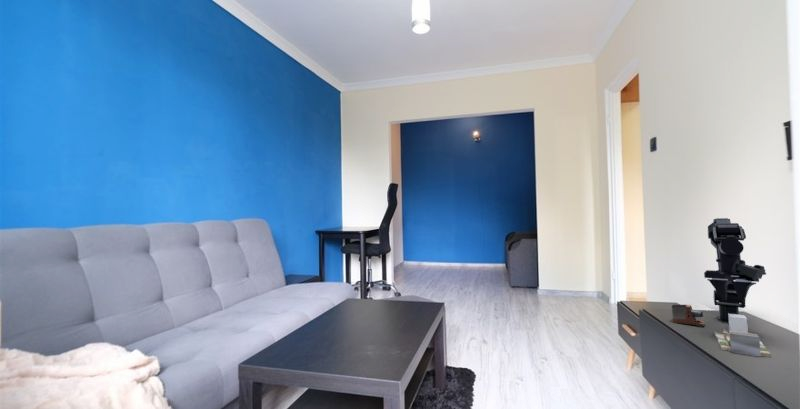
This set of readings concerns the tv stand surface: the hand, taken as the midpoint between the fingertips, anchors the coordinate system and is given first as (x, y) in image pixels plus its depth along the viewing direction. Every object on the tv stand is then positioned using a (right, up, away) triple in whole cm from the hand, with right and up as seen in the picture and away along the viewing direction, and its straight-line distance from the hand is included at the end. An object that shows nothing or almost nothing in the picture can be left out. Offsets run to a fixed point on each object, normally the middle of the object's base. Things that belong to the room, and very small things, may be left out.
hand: (733, 300), depth 120 cm
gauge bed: (-6, -13, -8) cm, 16 cm away
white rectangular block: (-6, -12, -5) cm, 14 cm away
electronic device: (-4, -14, +14) cm, 20 cm away
